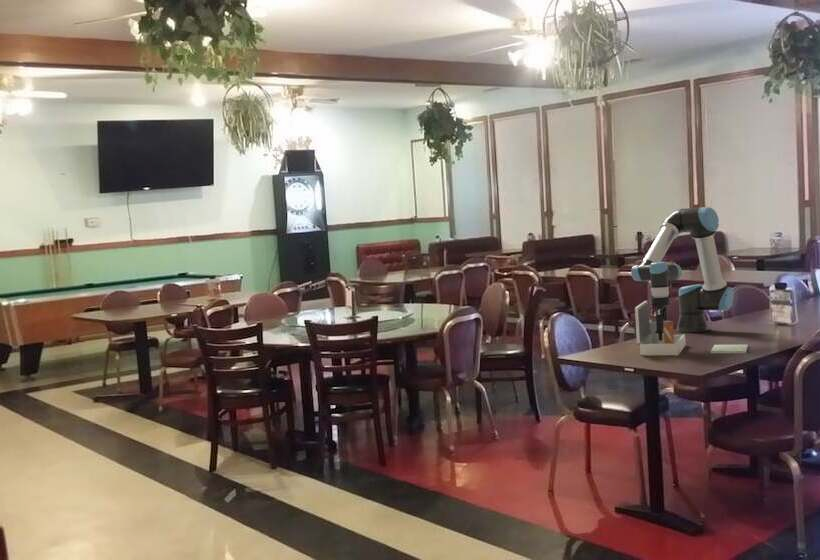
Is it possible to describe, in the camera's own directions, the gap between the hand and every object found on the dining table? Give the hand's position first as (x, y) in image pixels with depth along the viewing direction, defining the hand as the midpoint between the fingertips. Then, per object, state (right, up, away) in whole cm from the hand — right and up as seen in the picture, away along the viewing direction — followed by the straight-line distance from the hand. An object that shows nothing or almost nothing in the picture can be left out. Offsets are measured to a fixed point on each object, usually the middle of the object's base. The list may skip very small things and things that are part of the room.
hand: (663, 345), depth 373 cm
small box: (0, -2, 0) cm, 2 cm away
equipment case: (0, -2, 0) cm, 2 cm away
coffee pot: (+5, 0, +24) cm, 24 cm away
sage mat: (+25, -1, -12) cm, 28 cm away
